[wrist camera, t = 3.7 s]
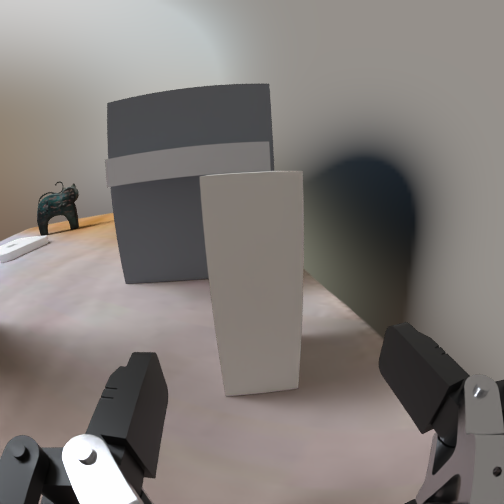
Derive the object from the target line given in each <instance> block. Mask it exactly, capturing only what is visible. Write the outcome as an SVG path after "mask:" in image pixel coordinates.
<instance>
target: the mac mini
mask: <svg viewBox="0 0 504 504" xmlns="http://www.w3.org/2000/svg"><path fill="white" fill-rule="evenodd" d="M47 243H49V242H48V236H47V235H45V236H35V237H26V238H20V239H16V240H14V241H11V242H9V243H6V244H4V245H1V246H0V263H4V262H8V261H10V260H13V259H15V258H17V257H19V256H21V255H23V254H25V253H28V252H30V251H32V250H34V249H36V248H39V247H41V246H43V245H45V244H47Z"/></svg>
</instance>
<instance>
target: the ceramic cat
mask: <svg viewBox="0 0 504 504" xmlns="http://www.w3.org/2000/svg"><path fill="white" fill-rule="evenodd" d="M57 183H59V182H57ZM60 183H62V182H60ZM55 185H56V184H55ZM62 185H63V184H62ZM61 192H62V193H61ZM61 192H59V193H52V192H48V193H52V195H49V196H47V197H45V198H44V199H42V201H41V202H40V204H38V211H37V222H38V227H39V230H40V234H41V236H45V235H47V234H48V221H49V220H50V219H51V218H52V217H54V216H57V215H64V216H65V217H66V218H67V219H68V221H69V223H70V228H71V230H72V229H76V228H78V227H79V224H78V215H77V209H76V205H75V203H74V202H75V201H76V200H77V198H78V190H77V189H76V186H75V184H73V185H72V186H71V187H68V188H63V189H62V191H61ZM48 193H46V194H48ZM60 193H61V194H60ZM46 194H44V195H46ZM44 195H42V196H41V197H40V199H41V198H42V197H43V196H44ZM39 201H40V200H39Z"/></svg>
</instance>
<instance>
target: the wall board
mask: <svg viewBox="0 0 504 504" xmlns="http://www.w3.org/2000/svg"><path fill="white" fill-rule="evenodd" d="M271 120H272V119H271V104H270V89H269V84H232V85H215V86H204V87H194V88H185V89H177V90H170V91H163V92H157V93H152V94H146V95H142V96H137V97H131V98H127V99H122V100H118V101H114V102H110V103H108V104H107V130H108V132H107V134H108V159H106V160H105V166H106V180H107V187H111V196H112V205H113V213H114V221H115V228H116V234H117V241H118V247H119V252H120V258H121V263H122V268H123V273H124V278H125V282H126V284H129V283H148V282H164V281H180V280H195V279H209V276H208V267H207V258H206V248H205V238H204V227H203V216H202V204H201V191H200V176H206V175H213V174H226V173H241V172H261V171H274V156H273V137H272V121H271Z"/></svg>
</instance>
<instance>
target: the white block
mask: <svg viewBox="0 0 504 504" xmlns="http://www.w3.org/2000/svg"><path fill="white" fill-rule="evenodd" d="M200 191H201V204H202V216H203V227H204V238H205V248H206V258H207V267H208V276H209V285H210V293H211V301H212V309H213V317H214V324H215V331H216V338H217V345H218V352H219V359H220V365H221V371H222V377H223V384H224V389H225V395H226V396H236V395H248V394H258V393H267V392H276V391H283V390H290V389H296V388H298V383H299V369H300V353H301V334H302V310H303V268H304V223H303V221H304V219H303V218H304V217H303V175H302V171H261V172H241V173H226V174H213V175H206V176H200Z"/></svg>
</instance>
